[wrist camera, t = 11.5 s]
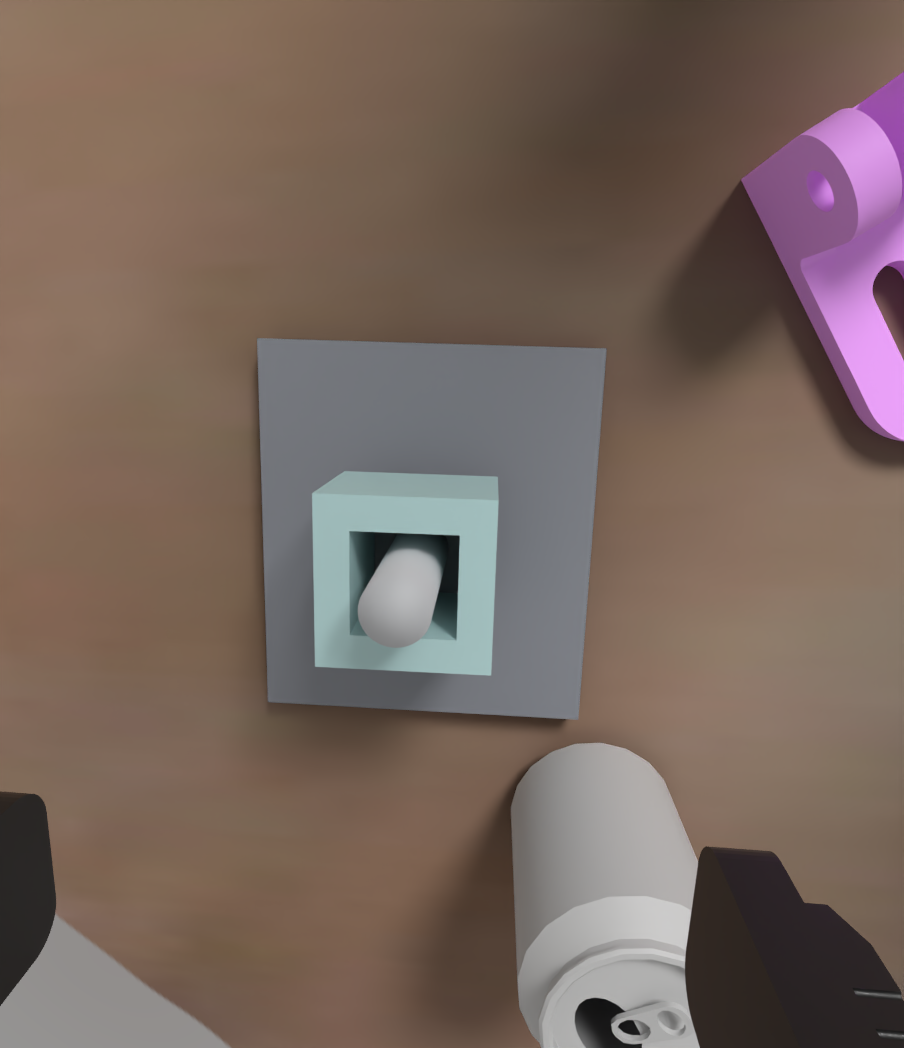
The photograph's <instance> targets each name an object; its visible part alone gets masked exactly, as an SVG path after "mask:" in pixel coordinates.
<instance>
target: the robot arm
mask: <svg viewBox="0 0 904 1048" xmlns="http://www.w3.org/2000/svg"><path fill="white" fill-rule="evenodd" d="M55 910H56V893H55V884H54V875H53V866H52V857H51V848H50V839H49V830H48V821H47V812H46V807H45V804H44V802H43V800H42V799H41V798H40V797H39V796H38V795H35V794H26V793H13V792H0V1006H1V1004H2V1003H3V1002H4V1000H5V999H6V998H7V996H8V995H9V994H10V992H11V991H12V990H13V989H14V987H15V986H16V984H17V983H18V982H19V981H20V980H21V978H22V977H23V976H24V974H25V973H26V972H27V970H28V969H29V968H30V967H31V965H32V964H33V963H34V961H35V960H36V958H37V957H38V955H39V954H40V952H41V950H42V949H43V947H44V945H45V943H46V941H47V938H48V936H49V933H50V930H51V927H52V924H53V920H54V916H55ZM685 982H686V992H687V1000H688V1006H689V1011H690V1015H691V1019H692V1023H693V1026H694V1030H695V1033H696V1037H697V1040H698V1043H699V1047H700V1048H904V1001H903V1000H902V997H901V991H900V989H899V988H898V986H897V984H896V983H895V981H894V980H893V978H892V977H891V975H890V973H889V972H888V970H887V969H886V967H885V966H884V964H883V962H882V961H881V959H880V958H879V956H878V955H877V953H876V952H875V950H874V948H873V947H872V945H871V944H870V943H869V942H868V941H867V940H865V939H864V938H863V937H862V936H861V935H860V934H859V933H858V932H857V931H856V930H854V929H853V928H852V927H851V926H850V925H849V924H848V923H847V922H846V921H845V920H843V919H842V918H841V917H840V916H839V915H838V914H837V913H836V912H835V911H834V910H832V909H831V908H830V907H829V906H828V905H823V904H811V903H804V902H803V900H802V898H801V896H800V895H799V893H798V891H797V889H796V888H795V886H794V884H793V882H792V881H791V879H790V877H789V875H788V873H787V872H786V870H785V868H784V866H783V865H782V863H781V861H780V860H779V858H778V857H777V856H776V855H775V854H774V853H773V852H770V851H759V850H746V849H732V848H719V847H704V848H703V850H702V851H701V854H700V857H699V862H698V868H697V875H696V882H695V889H694V896H693V903H692V911H691V918H690V925H689V932H688V939H687V946H686V955H685Z"/></svg>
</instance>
